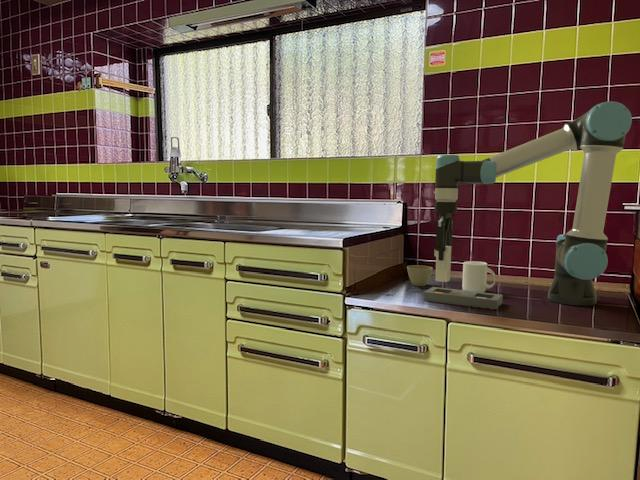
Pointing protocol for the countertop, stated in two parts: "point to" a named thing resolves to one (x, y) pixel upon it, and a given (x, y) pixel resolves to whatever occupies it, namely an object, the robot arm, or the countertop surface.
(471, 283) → the mug
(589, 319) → the countertop surface
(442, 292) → the panel
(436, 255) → the plug
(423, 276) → the flower pot
